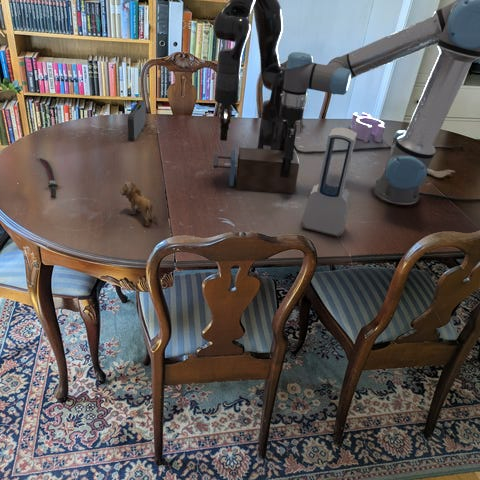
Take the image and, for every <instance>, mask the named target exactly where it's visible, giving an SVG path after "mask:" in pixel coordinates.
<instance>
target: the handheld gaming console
mask: <svg viewBox="0 0 480 480" xmlns="http://www.w3.org/2000/svg"><path fill="white" fill-rule="evenodd" d="M146 103H147V102H146V100H144V99H143V100H142V99H140V100H138V102H137V103H135V105H134V107H133V108H132V109H131V110H130V112H129V113H128V115H127V138H128V140H130V141H135V140H137V138H138V136H139V134H140V133H141V132H142V130H143V128H144V126H145V125H146V122H147V107H146V106H147V104H146Z"/></svg>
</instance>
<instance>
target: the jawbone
mask: <svg viewBox="0 0 480 480" xmlns="http://www.w3.org/2000/svg"><path fill="white" fill-rule="evenodd" d="M452 173H454V174H455V173H456V171H455V170H453V169H444V170H440V171H438V170H433V169H431V168H429V167H428V169H427V174H426V175H429V176H432V177H434V178H435V179H442V178H444V177H446V176H447V177H448V178H450V177H451V176H452Z"/></svg>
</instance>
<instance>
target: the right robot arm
mask: <svg viewBox="0 0 480 480" xmlns="http://www.w3.org/2000/svg"><path fill="white" fill-rule="evenodd" d="M435 45H436V46H437V49H438V51H439V55H438V57H437V59H436V61H435V64H434V66H433V68H432V71H431V73H430V76H429V77H428V80H427V82H426V84H425V87H424V89H423V92H422V94H421V95H420V99H419V101H418V103H417V105H416V107H415V110H414V112H413V114H412V117H411V120H410V122H409V124H408V126H407V129H406V130H405V129H403V130H402V129H400V130H397V131H396V132H395V134H394V137H392V143H391V146H392V147H391V148H390V150H389V154H388V158H387V160H386V164H385V168H384V171H383V173H382V175H381V176H380V178H379V179H377V180H376V182H375V185H374V187H373V191H372V193H373V195H374V196H375V197H376V198H377V199H378V200H380V201H382V202H383V203H385V204H388V205H390V206H391V205H392V206H396V207H412V206H415V205H417V203H418V201H419V199H420V196H423V197H432V198H440V199H446V200H450V201H456V202H480V198H461V197H453V196H448V195H443V194H436V193H429V192H420V186H421V185H422V184H423V183H424V182H425V180H426V178H427V175H428V174H427V169H428V168H429V167H430V164H431V163H432V160H433V158H434V156H435V154H436V148H434V146H435V145H434V143H435V142H436V140H437V138H438V136H439V133H440V131H441V129H442V127H443V125H444V123H445V121H446V118H447V117H448V114H449V112H450V110H451V108H452V106H453V104H454V102H455V99H456V97H457V96H458V93H459V91H460V89H461V86H462V84H463V83H464V80H465V78H466V76H467V75H468V72H469V70H470V68H471V66H472V63H474V62H476V61H477V60H479V59H480V0H454V1H453V2H451V3H449V4H447V5H445V6H443V7H442V8H438V9H436V10H435V11H434V12H433V14H432V15H431V16H430V17H428V18H425V19H423V20H421V21H419V22H417V23H414V24H412V25H409V26H407V27H405V28H402V29H400V30H397V31H396V32H394V33H391V34H389V35H386V36H384V37H381V38H380V39H377V40H374V41H373V42H370V43H368V44H366V45H363V46H362V47H359V48H357V49H354V50H352V51H350V52H348V53H346V54H343V55H341V56H336V57H334V58H332V59H330V61H328V63H327V64H321V63H316V62H314V60H313V59H314V58H313V55H312V54H310V53H306V52H302V51H301V52H300V51H298V52H297V51H295V52H291V53H289V54H288V56H287V60H286V65H285V67H284V68H285V78H284V86H283V94H280V96H281V97H282V100H281V103H282V105H281V106H280V113H279V115H280V117H281V118H283V125H282V130H281V135H280V139H279V140H280V145H281V146H280V147H279V150H280V151H284V157H282V158H281V159H283V161H282V167H281V174H280V177H285V178H289V171H290V165H291V160H293V153H294V152H295V149H294V145H295V144H296V136H297V124H296V123H295V122H297V121H299V122H300V120H301V119H302V118H304V113H305V106H306V101H307V95H308V90H313V91H317V92H323V93H328V94H332V95H340V96H344V95H346V94H347V92H348V90H349V86H350V83H351V79H354V78H356V77H358V76H361V75H363V74H365V73H367V72H371V71H373V70H375V69H377V68H381V67H384V66H385V65H388V64H390V63H393V62H395V61H398V60H400V59H403V58H405V57H408V56H410V55H413V54H415V53H417V52H420V51H423V50H425V49H427V48H429V47H432V46H435Z"/></svg>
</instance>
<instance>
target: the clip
mask: <svg viewBox="0 0 480 480" xmlns="http://www.w3.org/2000/svg"><path fill="white" fill-rule="evenodd" d="M358 114H359V113H358V112H353V114H352V118H351V122H350V126H349V129H350V130H353V131H354V132H356V133H357V135H356V139H358V140H361V141H363V142H364V143H368V142H369V140H370V135H372V136H374V139H373V140H374V142H376V143H382V140H383V137H384V132H385V129H386V127H385V122H384V121H383V120H380V119H377V118H374V117H372V115H371V114H369V113H366V112H361V115H358Z"/></svg>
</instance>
